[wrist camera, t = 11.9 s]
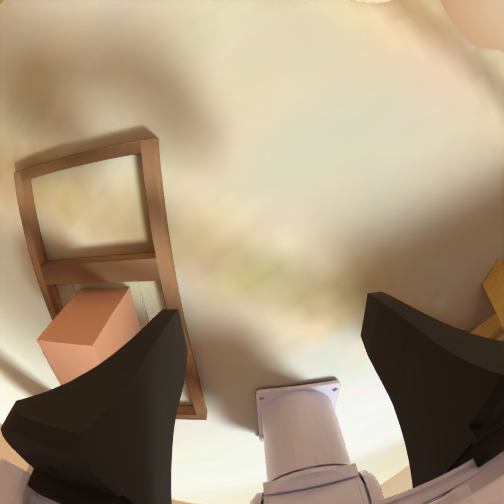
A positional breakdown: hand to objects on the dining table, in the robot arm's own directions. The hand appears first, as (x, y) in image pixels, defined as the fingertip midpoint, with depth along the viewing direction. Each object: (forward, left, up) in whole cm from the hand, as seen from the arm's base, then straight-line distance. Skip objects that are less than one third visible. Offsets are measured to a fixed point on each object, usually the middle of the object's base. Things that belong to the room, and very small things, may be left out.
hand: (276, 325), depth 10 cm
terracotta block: (-5, +12, -9) cm, 16 cm away
